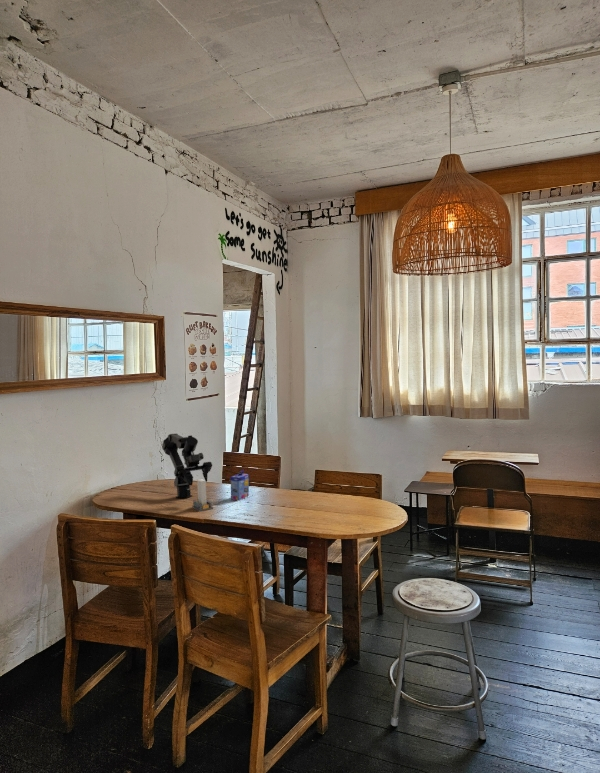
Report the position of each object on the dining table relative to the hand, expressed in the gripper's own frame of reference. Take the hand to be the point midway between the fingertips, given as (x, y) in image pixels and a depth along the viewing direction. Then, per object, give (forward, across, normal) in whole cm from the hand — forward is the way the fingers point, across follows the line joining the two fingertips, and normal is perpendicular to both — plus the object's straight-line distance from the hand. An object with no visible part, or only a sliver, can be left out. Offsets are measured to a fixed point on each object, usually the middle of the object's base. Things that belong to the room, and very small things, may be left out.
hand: (198, 482), depth 262 cm
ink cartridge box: (+8, +23, +9) cm, 26 cm away
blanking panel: (+11, 0, +4) cm, 12 cm away
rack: (+12, 0, +5) cm, 13 cm away
